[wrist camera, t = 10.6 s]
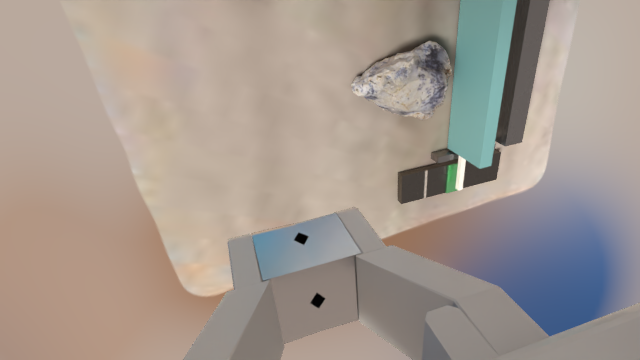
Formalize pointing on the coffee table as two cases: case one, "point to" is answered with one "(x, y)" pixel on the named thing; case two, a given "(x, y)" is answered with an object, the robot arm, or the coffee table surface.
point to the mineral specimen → (408, 81)
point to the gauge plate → (479, 80)
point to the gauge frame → (511, 113)
